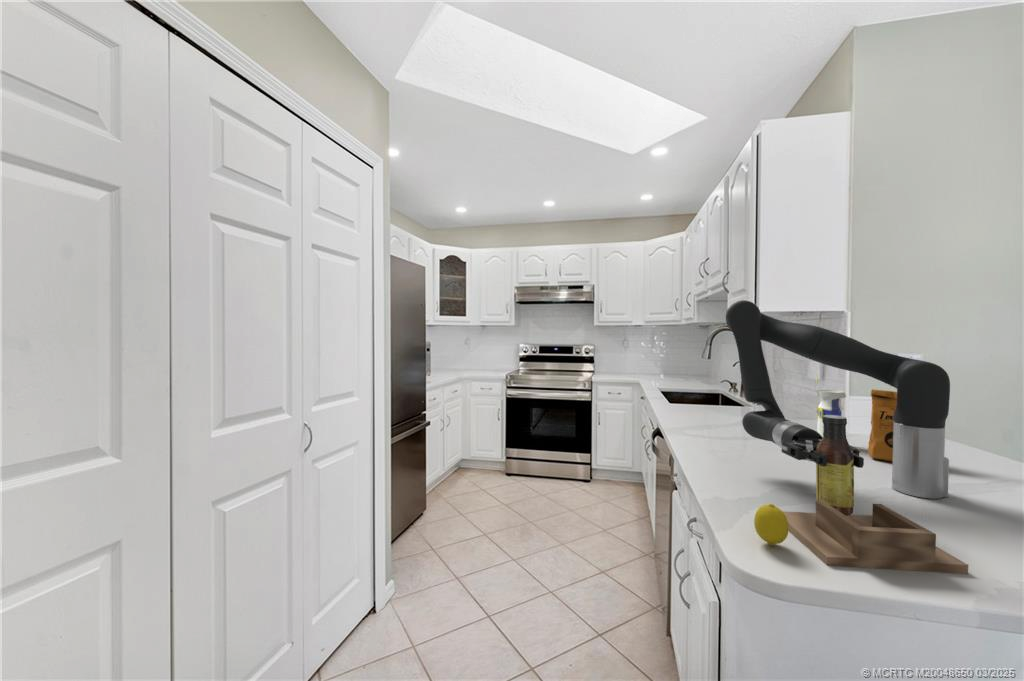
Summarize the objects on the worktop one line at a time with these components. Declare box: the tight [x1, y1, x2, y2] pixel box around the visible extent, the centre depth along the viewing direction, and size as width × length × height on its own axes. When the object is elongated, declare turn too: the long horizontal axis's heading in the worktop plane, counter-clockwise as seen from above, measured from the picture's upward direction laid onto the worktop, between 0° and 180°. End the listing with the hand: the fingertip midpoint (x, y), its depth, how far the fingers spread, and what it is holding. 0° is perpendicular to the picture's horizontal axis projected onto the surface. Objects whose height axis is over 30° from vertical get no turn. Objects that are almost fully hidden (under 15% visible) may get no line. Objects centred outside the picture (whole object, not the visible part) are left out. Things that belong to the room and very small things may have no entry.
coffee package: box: [867, 388, 897, 463], centre depth 127 cm, size 10×12×22 cm
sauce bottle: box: [815, 415, 855, 516], centre depth 85 cm, size 6×6×20 cm
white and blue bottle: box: [815, 373, 847, 438], centre depth 144 cm, size 8×9×25 cm
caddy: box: [782, 500, 969, 575], centre depth 79 cm, size 22×18×6 cm
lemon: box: [753, 503, 789, 546], centre depth 78 cm, size 6×6×8 cm
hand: (842, 462), depth 83 cm, fingers closed on sauce bottle, 6 cm apart
